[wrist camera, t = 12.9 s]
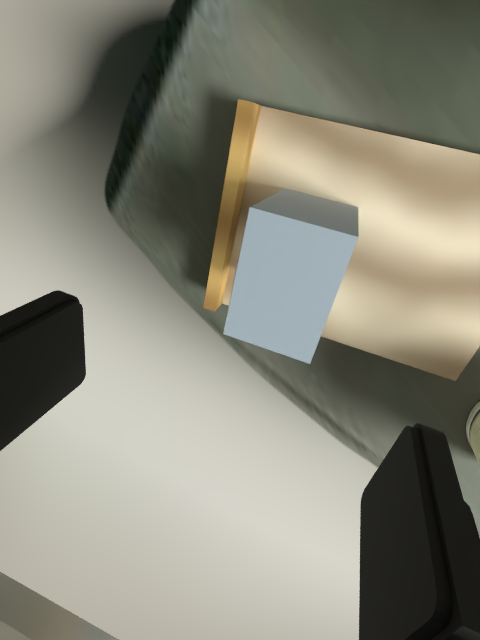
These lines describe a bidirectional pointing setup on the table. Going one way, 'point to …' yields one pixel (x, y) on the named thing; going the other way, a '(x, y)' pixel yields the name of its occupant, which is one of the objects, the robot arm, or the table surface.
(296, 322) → the carton
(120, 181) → the table surface
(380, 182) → the shelf
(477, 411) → the coffee can
